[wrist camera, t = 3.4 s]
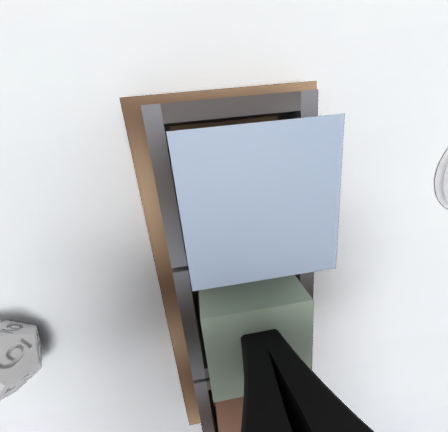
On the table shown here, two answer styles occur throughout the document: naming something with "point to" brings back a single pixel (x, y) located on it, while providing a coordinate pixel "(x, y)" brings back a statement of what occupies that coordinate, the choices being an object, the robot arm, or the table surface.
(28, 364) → the game die
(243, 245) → the block
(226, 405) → the peach matte cube
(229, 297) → the pale green cube
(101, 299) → the table surface
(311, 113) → the board
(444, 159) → the chess piece
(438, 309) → the table surface
